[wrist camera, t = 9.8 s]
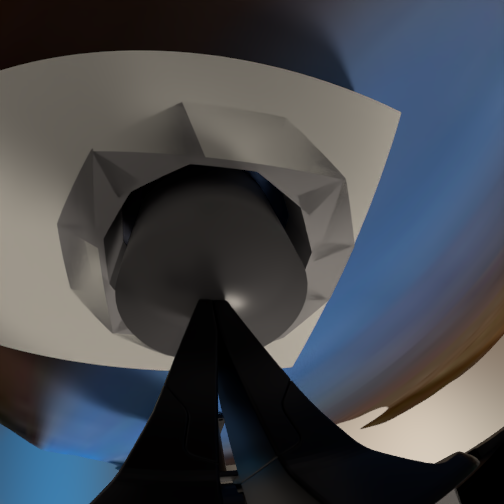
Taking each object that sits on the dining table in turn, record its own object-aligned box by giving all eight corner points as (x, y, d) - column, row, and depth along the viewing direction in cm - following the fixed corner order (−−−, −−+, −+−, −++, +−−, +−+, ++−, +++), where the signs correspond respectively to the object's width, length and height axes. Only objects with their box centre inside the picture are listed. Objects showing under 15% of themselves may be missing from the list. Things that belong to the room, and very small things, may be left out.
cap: (254, 280, 15) (278, 359, 11) (139, 273, 13) (126, 356, 9) (284, 172, 12) (335, 231, 8) (141, 155, 10) (106, 209, 6)
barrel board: (280, 329, 18) (292, 367, 15) (15, 310, 13) (0, 345, 10) (359, 101, 10) (402, 112, 8) (-26, 85, 5) (-66, 97, 3)
